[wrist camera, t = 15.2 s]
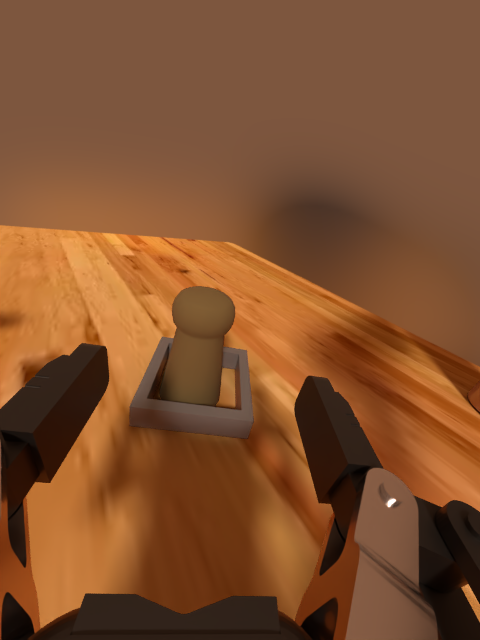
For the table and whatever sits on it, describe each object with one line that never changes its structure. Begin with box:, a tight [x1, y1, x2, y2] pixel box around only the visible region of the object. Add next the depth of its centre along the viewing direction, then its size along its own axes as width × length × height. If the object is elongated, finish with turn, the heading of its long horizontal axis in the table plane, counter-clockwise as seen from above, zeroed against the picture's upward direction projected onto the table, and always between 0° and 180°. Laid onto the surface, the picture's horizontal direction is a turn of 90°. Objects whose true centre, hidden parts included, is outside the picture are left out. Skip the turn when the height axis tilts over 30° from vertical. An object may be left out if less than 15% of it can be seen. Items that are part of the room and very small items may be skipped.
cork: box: [160, 286, 235, 407], centre depth 22 cm, size 6×6×11 cm
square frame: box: [130, 337, 254, 439], centre depth 24 cm, size 10×10×2 cm
